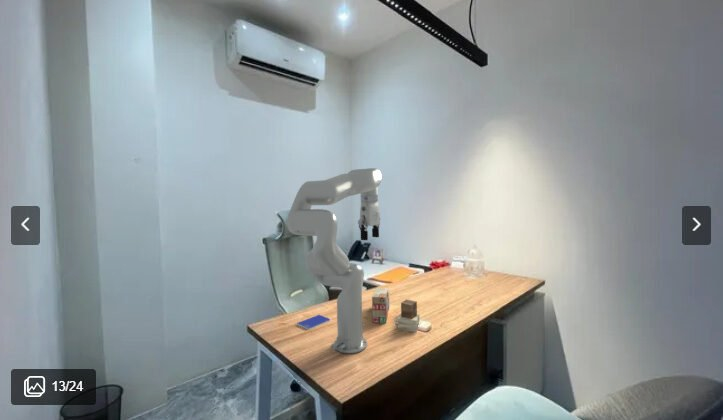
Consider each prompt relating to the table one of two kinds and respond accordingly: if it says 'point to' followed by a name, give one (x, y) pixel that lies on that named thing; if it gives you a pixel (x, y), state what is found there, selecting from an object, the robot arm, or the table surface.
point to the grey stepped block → (408, 323)
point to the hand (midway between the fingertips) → (370, 238)
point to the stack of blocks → (380, 305)
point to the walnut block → (409, 309)
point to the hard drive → (313, 322)
